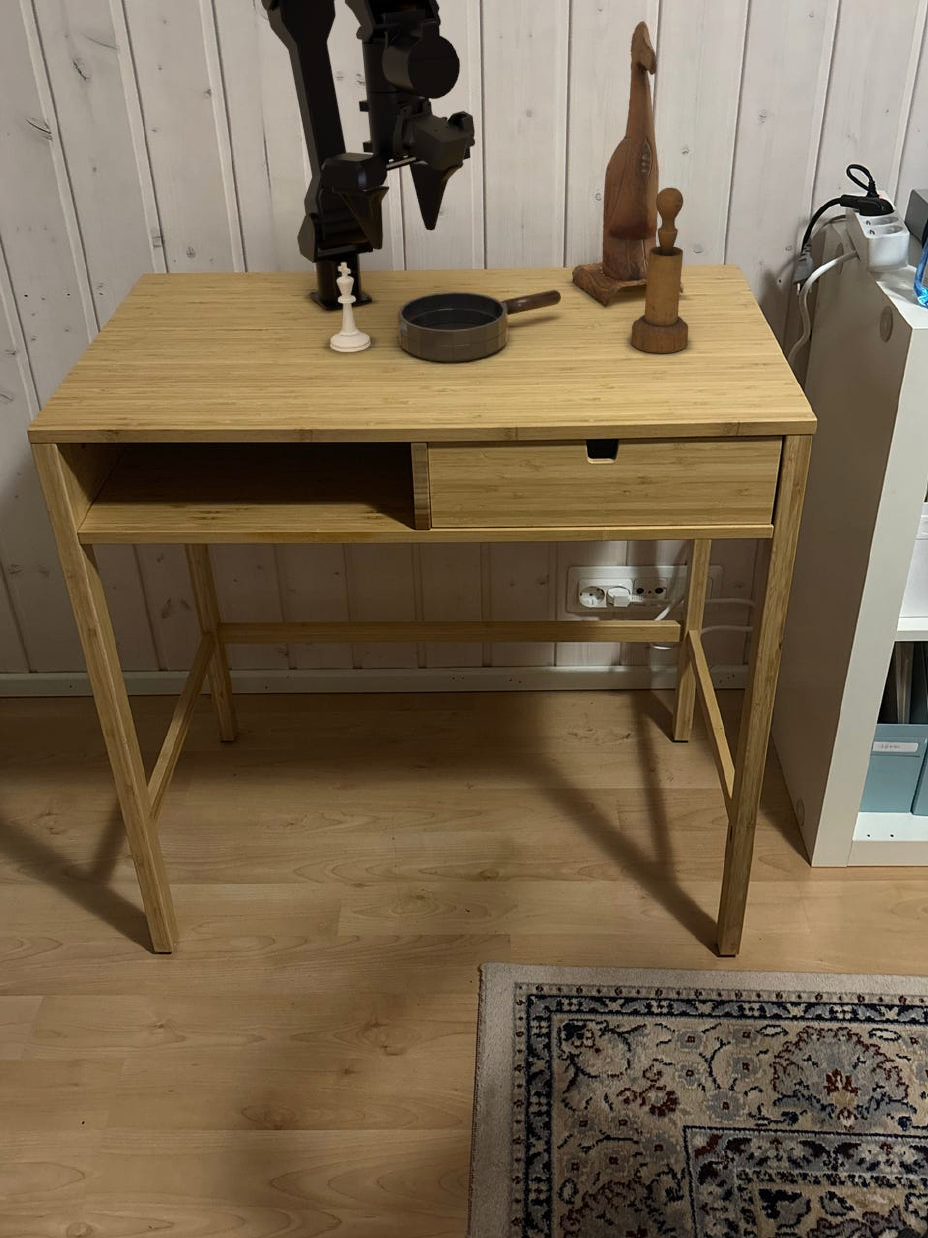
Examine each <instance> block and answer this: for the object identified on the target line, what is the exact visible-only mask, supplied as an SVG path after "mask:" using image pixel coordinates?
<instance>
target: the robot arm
mask: <svg viewBox="0 0 928 1238" xmlns="http://www.w3.org/2000/svg"><path fill="white" fill-rule="evenodd" d="M335 1H336V0H260V2H261V5H262V8H263V9H264V11H266V15H267V19H268V23H269V27H270V29H271V31H273V33H274V34H275V35H276V36H277V38H278V39H279V40H280V41H281V43H282V45H284V47H285V48H286V49H287V51H288V55H289V59H290V60H289V61H290V66H291V71H292V76H293V82H294V87H295V93H296V97H297V103H298V108H299V113H300V114H299V115H300V120H301V125H302V130H303V134H304V140H305V146H306V150H307V156H308V162H309V167H310V172H311V179H310V181H309V184H308V188H307V190H306V193H305V196H304V199H303V204H304V212H305V215H304V217H303V220H302V222H301V225H300V228H299V231H298V234H297V236H296V238H297V244H298V249H299V253H300V255H301V256H302V257H304V258H305V259H307V260H308V261H309V262H311V263H312V264H315V273H316V283H317V291H316V290H315V291H312V292H309V298H310V299H312V300H314V302H316V303H317V304H318V305H319V306H320V307H322V308H323V309H324V310H326V311H333V310H338V309H343V303H340V302H338V298H339V297H340V296H342V293H341V291H340V288H339V286H338V284H337V279H338V278H339V277H342V272H341V271H338V267H340V266H341V263H342V262H345V263H346V264H347V268H348V269H350V272H351V273H349V274H347V276H349V277H352V278H353V279H354V283H353V286H352V291H351V295H352V296H354V297H355V299H356V301H355V302H353V303H351V306H352V307H353V306H359V305H362V304H368V303H371V302H372V301H373V299H372V296H371V295H369V294H367V293H366V292H365V291H363V289H362V277H361V276H362V275H361V264H360V254H361V255H362V254H366V253H367V254H368V253H369V254H370V253H374V250H380V251H381V250H382V249H383V244H384V243H383V242H384V228H383V226H384V224H383V223H384V222H383V204H382V202H383V200H384V198H385V196H386V195H387V193H388V192H389V190H390V186H387V185H384V184H385V182H386V180H387V178H388V172H390V171H393V170H397V169H401V168H403V167H407V166H409V171H410V174H411V178H412V179H411V180H412V182H413V186H414V190H415V194H416V199H417V203H418V208H419V212H420V215H421V218H422V222H423V226H424V228H425V230H426V231H432V232H433V231H434V230H435V229H436V226H437V223H438V219H439V215H440V210H441V207H442V202H443V199H444V195H445V191H446V188H447V185H448V182H449V180H450V178H452V176H453V175H454V174H455V173H456V172H457V171H459V170H460V169H462V168H463V166H464V165H465V163H464V161H465V160H467V159H471V148H472V147H474V146H475V145H476V140H475V133H476V132H475V123H474V116H473V115H472V114H470V113H468V112H466V111H465V110H460V111H456V112H454V113H452V114H451V115H450V116H449V118H448V117H447V116H446V115H445V116H441V117H439V116H437V115H435V114H433V110H432V102H431V101H430V99H431V100H437V99H440V98H443V97H445V96H446V95H448V94H449V93H450V92H451V91H452V90H453V88H455V85H456V83H457V82H458V79H459V76H460V69H461V62H460V61H461V60H460V58H459V56H458V53H457V49H456V48H455V47H454V45H453V44H452V42H450V40H448V39H447V38H446V37H443V36H442V35H441V32H440V26H441V25H442V20H441V17H440V14H439V12H440V9H441V8H440V5H439V3H438V0H344V4H345V5H346V6H347V7H348V8H349V9H350V10H351V11H352V14H353V15H354V16H355V18H356V20H357V22H358V23H359V25H360V26H359V27H358V28H357V30H356V33H355V36H356V39H357V40H361V49H362V50H361V51H362V60H363V72H364V81H365V82H364V83H365V84H364V85H365V93H366V94H365V95H366V99H363V100H358V108H359V112H360V113H367V117H368V129H369V138H370V139H369V140H367V141H362V151H363V153H362V152H361V153H360V152H352V151H350V152H349V151H347V148H346V142H345V135H344V130H343V125H342V120H341V115H340V113H341V112H340V108H339V102H338V97H337V91H336V86H335V81H334V75H333V68H332V62H331V56H330V52H329V51H330V50H329V45H328V40H329V37H330V34H331V31H332V28H333V26H334V22H335V19H336V17H337V15H336V4H335Z"/></svg>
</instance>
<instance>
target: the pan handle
mask: <svg viewBox="0 0 928 1238" xmlns="http://www.w3.org/2000/svg"><path fill="white" fill-rule="evenodd" d="M561 299H562V295H561V293H560V292H559V291H558V290H556V289H550V290H546V291H542V292H537V293H532V294H528V295H521V296H518V297H513V298H507V299H504V300H500V301H501V302H502V303H504V304H505V306H506V308H507V309H508V316H510V315H514V314H519V313H523V312H524V313H525V312H528V311H533V310H538V309H543V308H547V307H552V306H556V305H558V304H559V303H561ZM495 306H496V305H495V304H494V312H495V313H496V314H498V312H499V307H498V306H496V307H495ZM498 315H499V314H498Z"/></svg>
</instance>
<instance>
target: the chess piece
mask: <svg viewBox="0 0 928 1238" xmlns="http://www.w3.org/2000/svg"><path fill="white" fill-rule="evenodd" d="M338 271H341V272H342V277H339V278H338V279H337V284H338V286H339V288H340V291H341V293H342V296H340V297H339V298H338V302H340V303H343V308H342V328H341V329H340V331H339V332H338V333H336V334H334V335H333V336H331V338H330V340H329V341H330V344H329V346H330V348H331V349H332V350H334V351H337V352H341V353H355V352H360V351H363V350H366V349H368V348H369V347H370V346H371V344H372V343H371V342H372V341H371V337H370V336H369V334H367V333H365V332H362V331H360V330H359V329H358V328H357V326H356V322H355V317H354V312H353V306H351V303H353V302H355V301H356V299H355V297H354V296H352V295H351V291H352V286H353V283H354V279H353V278H352V277H349V276H347V274H349V273H351V272H350V269H348V268H347V264H346V263H345V262H342V263H341V266H340V267H338Z"/></svg>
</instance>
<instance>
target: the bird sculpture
mask: <svg viewBox="0 0 928 1238" xmlns="http://www.w3.org/2000/svg"><path fill="white" fill-rule="evenodd" d="M630 43H631V45H630V58H631V61H630V84H629V85H630V86H629V87H630V88H629V100H628V112H627V119H626V127H625V135H624V136H623V137H622V139H621V140H620V142H619V143H618V144H617V146H616V147H615V148H614V151H613V153H612V154H611V156H610V159H609V161H608V163H607V165H606V169H605V175H604V176H605V177H604V190H603V214H602V221H603V222H602V223H603V224H602V261H601V262H593V263H585V264H578V265H576V266H575V267H574V269H572V270H573V271H572V272H571V275H572V281H571V283H574V285H576V284H577V286H578V287H579V288H580V289H584V290H583V291H585V292H586V293H588V294H589V295H591V296H592V297H593V298H595V299H597V301H600V302H601V303H602V304H603V305H606V304H607V302H608V301H609V299H611V297H612V296H613V295H614V294H616V293H617V292H618V291H619V290H620V289H621V288H626V287H633V286H640V285H647V274H648V258H649V250H650V249H651V248H653V247H657V233H658V217H659V216H658V214H659V212H658V210H657V207H656V198H657V196H658V194H659V187H660V186H659V184H660V182H659V180H660V167H659V160H658V152H657V144H656V143H657V142H656V133H655V124H654V114H653V113H654V112H653V102H652V91H651V82H650V81H651V80H650V77H649V75H650V76H653V75H656V73H657V66H658V64H657V55H656V52H655V50H654V48H653V45H652V40H651V36H650V32H649V28H648V25H647V23H646V22H645V21H644V20H642V21H639V22H638V23H637V25H636V26H635V28H634V31H633V33H632V36H631V42H630ZM680 294H682V295H684V284H683V282H682V281H681V282H680Z"/></svg>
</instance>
